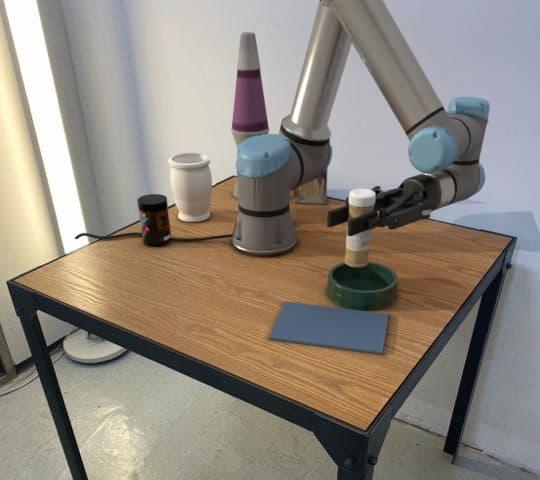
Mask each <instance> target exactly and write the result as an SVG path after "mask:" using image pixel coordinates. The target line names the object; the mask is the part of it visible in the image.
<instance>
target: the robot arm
mask: <svg viewBox="0 0 540 480" xmlns="http://www.w3.org/2000/svg"><path fill="white" fill-rule="evenodd" d="M312 24H313V25H312V28H311V32H310V35H309V40H308V44H307V47H306V52H305V56H304V60H303V64H302V68H301V71H300V74H299V75H300V76H299V79H298V84H297V87H296V90H295V95H294V99H293V102H292V107H291V110H290V114H287V115H285V116H284V117H283V118H282V120H281V123H280V127H279V131H278V134H277V133H268V134H262V135H261V136H258V135H256V136H253V137H250V138H248V139H246V140H244V141H243V142H242V143H241V144H240V145H239V147H238V148H237V149H236V161H235V168H236V180H237V184H238V198H237V201H238V204H237V205H238V213H237V215H236V216H237V217H236V220H235V224H234V227H233V231H232V233H230V234H221V235H210V236H205V237H191V238H190V237H188V238H186V237H171V241H170V242H204V241H209V240H210V241H211V240H217V239H228V238H231V245H232V247H233V248H234V250H236V251H237V252H238V253H241V254H243V255H246V256H247V255H248V256H252V257H261V258H263V257H275V256H281V255H284V254H287V253H289V252H292V251H293V250H294V249H295V248H296V246H297V244H298V236H297V231H296V229H297V228H300V222H298V221H294V220H293V218H292V215H291V212H290V206H291V205H290V204H291V191H293V189H295V188H297V187H299V186H301V185H304V184H306V183H308V182H311V181H312V180H315V179H316V178H318V177H319V176H320V175H321V174H322V173H324V172H325V170H326V169H327V168H329V166H330V164H331V161H332V159H333V158H332V156H333V146H332V145H331V137H332V131H331V129H330V127H329V126H328V123H329V120H330V118H331V114H332V111H333V107H334V104H335V101H336V98H337V94H338V91H339V87H340V84H341V81H342V77H343V74H344V71H345V67H346V65H347V61H348V57H349V54H350V50H351V47H352V45H353V47H354V49H355V51H356V52H357V53H358V56H359V57H360V59H361V61H362V62H363V64H364V66H365V68H366V70H367V71H368V72H369V74H370V76H371V77H372V79H373V80H374V82H375V84H376V86H377V88H378V89H379V91H380V93H381V94H382V96H383V98H384V99H385V101H386V103H387V104H388V107H389V108H390V109H391V111H392V113H393V115H394V116H395V118H396V119H397V122H398V123H399V125H400V127H401V129H402V130H403V131H404V133H405V135H406V137H407V139H408V141H409V143H408V147H407V148H408V149H407V153H408V160H409V162H410V164H411V166H412V167H413V168H414V169H416V170H417V171H418V172H420V173H419V174H416V175H413V176H410V177H407V178H406V179H403V181H402V182H401V183H400V185H398V186H397V187H396V188H392V189H391V188H390V189H389V190H387V191H385V190H382V187H381V186H380V185H374V186H373V188H371V189H370V190H372V191H374V192H375V194H376V198H375V204H374V207H373V212H370V213H367V214H364V215H362V216H359V217H356V218H353V219H350V220H349V221H348V217H349V196H347V197H346V198H345V205H343V206H340V207H338V208H335V209H331V210H329V211H327V214H326V215H327V217H326V218H327V219H326V227H327V228H329V229H331V228H333V227H336V226H339V225H342V224H344V223H347V224H348V234H347V233H346V236H347V235H348V236H350V237H351V236H353V235H356V234H359V233H361V232H364V231H367V230H370V229H372V230H374V229H376V228H386V227H387V228H388V229H389V230H391V231H393V230H397V229H399V228H402V227H405V226H407V225H410V224H413V223H415V222H418V221H423V220H428V219H430V218H431V213H432V212H434V211H437V210H439V209H442V208H445V207H448V206H451V205H453V204H456V203H458V202H463V201H466V200H468V199H470V198H471V197H473V196H475V195H477V194H478V193H480V191H481V190H482V188H483V187H484V185H485V183H486V174H485V173H486V172H485V168H484V166H483V164H482V163H480V159H481V153H482V149H483V144H484V139H485V135H486V130H487V125H488V123H489V115H490V108H491V106H490V102H489V101H488V100H487V99H484V98H482V97H477V96H457V97H454V98H452V99H451V100H450V101H449V103H448V107H447V109H446V108H445V107H444V105H443V103H442V101H441V99H440V98H439V96H438V94H437V92H436V90H435V89H434V87H433V85H432V84H431V82H430V80H429V79H428V77H427V75H426V73H425V71H424V70H423V67H422V66H421V65H420V63H419V61H418V59H417V57H416V56H415V54H414V52H413V51H412V48H411V47H410V46H409V44H408V41H407V40H406V38H405V36H404V35H403V33H402V31H401V30H400V28H399V26H398V25H397V22H396V21H395V19H394V17H393V15H392V14H391V12H390V10H389V8H388V6H387V5H386V3H385V2H384V0H318V4H317V8H316V12H315V15H314V20H313V23H312ZM130 236H139V237H143V235H142V232H135V231H134V232H125V233H119V234H113V235H96V234H93V233H88V232H82V233H81V232H80V233H78V234H77V235H76V236H75V237H74V238H73V239H74V240H79V239H80V238H81V237H89V238H92V239H96V240H110V239H111V240H112V239H117V238H118V239H119V238H125V237H130Z"/></svg>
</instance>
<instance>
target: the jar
mask: <svg viewBox="0 0 540 480" xmlns="http://www.w3.org/2000/svg"><path fill="white" fill-rule="evenodd" d="M167 160H168V162H167V163H168V165H169V166H170V171H169V182H170V188H171V193H172V196H173V199H174V200H173V201H174V204H175V206H176V208H177V210H178V211H179V212H178V214H177V217H178V219H179V220H181V221H182V222H186V223H187V222H188V223H198V222H204V221H206V220H207V219H210V217H211V212H210V211H209V208H210V207H211V202H212V191H213V179H212V178H213V177H212V172H211V167H210V166H209V164H210V163H211V157H210V155H208V154H207V153H202V152H183V153H177V154H174V155H172V156H170V157H168V158H167Z"/></svg>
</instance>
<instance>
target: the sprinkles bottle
mask: <svg viewBox="0 0 540 480" xmlns="http://www.w3.org/2000/svg"><path fill="white" fill-rule="evenodd" d="M348 197H349V217H348V221H349V220H350V219H353V218H356V217H359V216H362V215H364V214H367V213H370V212H373V207H374V204H375V198H376V194H375V192H374V191H372V190H371V189H369V188H354V189H352V190H351V191H349V194H348ZM348 221H347V222H348ZM346 225H347V226H346V238H345V256H344V262H345V263H346V264H347V265H348V266H351V267H356V268H357V267H358V268H359V267H364V266H366V265H367V264H368V263H369V261H370V260H369V255H370V249H371V243H372V241H371V240H372V234H373V232H372V231H373V229H370V230H367V231H364V232H361V233H359V234H356V235H353V236H351V237H350V236H348V235H347V234H348V223H347V224H346Z"/></svg>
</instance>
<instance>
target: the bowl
mask: <svg viewBox="0 0 540 480" xmlns="http://www.w3.org/2000/svg"><path fill="white" fill-rule="evenodd" d="M398 281H399V276H398V274H397V272H396V271H395V270H393V269H392V268H391V267H389V266H387V265H384V264H383V263H378V262H375V261H371V260H369V263H368V264H367V265H366V266H364V267H359V268H358V267H357V268H356V267H351V266H348V265H347V264H346V263H345V261H344V262H340V263H337V264H335V265H334V266H332V267H331V268H330V269H329V271H328V273H327V283H326V284H327V286H326V292H327V293H326V294H327V297H328V298H329V299H330V301H331V302H332V303H334V304H335V305H337V306H339V307H341V308H343V309H351V310H360V311H368V312H373V311H377V310H378V311H379V310H382V309H385V308H387V307H389V306H391V305H392V304H393V303H394V302H395V300H396V297H397V288H398Z"/></svg>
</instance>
